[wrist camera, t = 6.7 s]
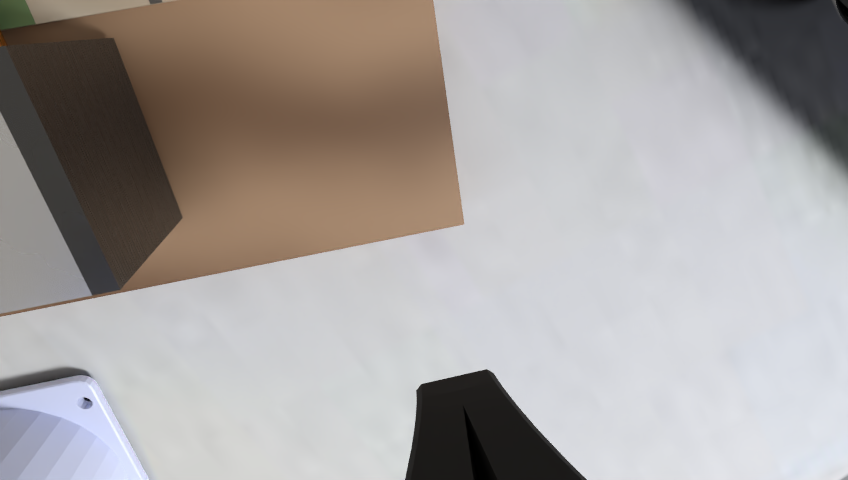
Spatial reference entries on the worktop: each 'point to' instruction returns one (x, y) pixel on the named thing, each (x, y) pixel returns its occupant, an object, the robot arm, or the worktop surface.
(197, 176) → the gauge board
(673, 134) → the worktop surface
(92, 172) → the gauge carriage
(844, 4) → the drinking cup
